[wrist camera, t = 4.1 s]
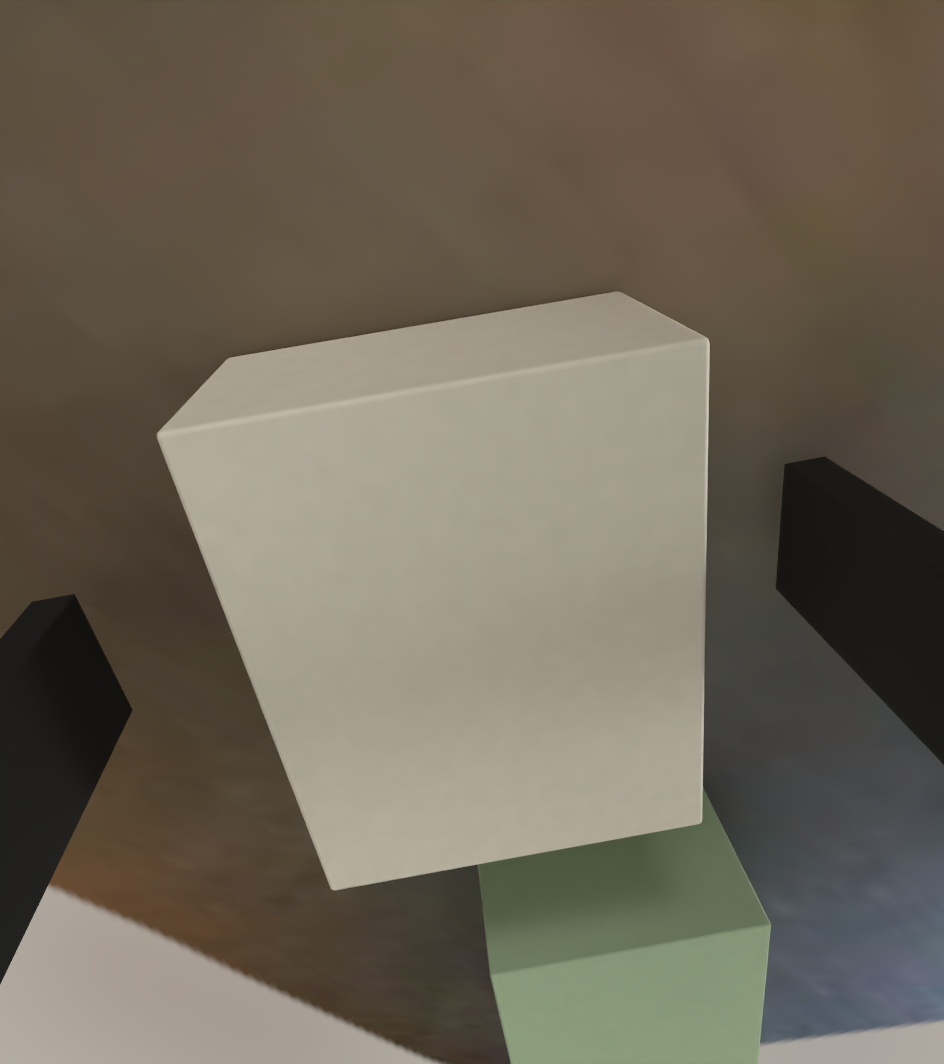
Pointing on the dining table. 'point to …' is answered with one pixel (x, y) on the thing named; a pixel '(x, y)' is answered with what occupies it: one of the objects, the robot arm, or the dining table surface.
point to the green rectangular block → (628, 950)
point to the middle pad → (466, 577)
